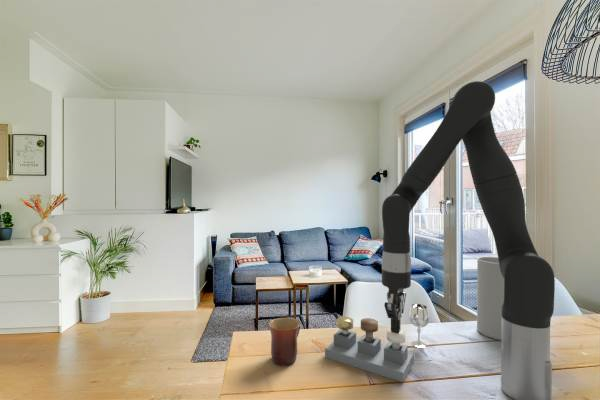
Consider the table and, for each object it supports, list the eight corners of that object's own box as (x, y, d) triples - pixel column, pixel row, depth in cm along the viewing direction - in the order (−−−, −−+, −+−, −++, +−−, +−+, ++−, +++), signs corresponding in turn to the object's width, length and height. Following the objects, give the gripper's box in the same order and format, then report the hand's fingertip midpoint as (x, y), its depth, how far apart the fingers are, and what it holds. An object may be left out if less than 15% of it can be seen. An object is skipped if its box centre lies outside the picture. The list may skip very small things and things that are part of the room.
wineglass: (430, 349, 92) (430, 310, 92) (410, 348, 94) (410, 308, 93) (426, 341, 98) (426, 303, 98) (407, 339, 99) (408, 302, 99)
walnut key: (380, 341, 88) (380, 320, 88) (374, 348, 84) (374, 326, 84) (364, 337, 90) (364, 317, 90) (358, 343, 86) (358, 322, 86)
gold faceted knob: (355, 338, 92) (355, 318, 92) (349, 345, 88) (349, 324, 88) (341, 334, 94) (341, 315, 94) (334, 340, 90) (334, 320, 90)
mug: (288, 372, 80) (288, 333, 80) (262, 362, 85) (262, 325, 85) (310, 352, 90) (310, 317, 90) (286, 345, 95) (286, 312, 95)
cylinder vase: (468, 329, 107) (469, 258, 107) (492, 324, 112) (493, 255, 112) (504, 345, 96) (505, 265, 95) (529, 338, 100) (530, 262, 100)
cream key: (407, 352, 84) (407, 330, 84) (402, 360, 79) (402, 337, 79) (389, 348, 86) (389, 326, 86) (384, 355, 82) (384, 333, 82)
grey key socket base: (414, 360, 86) (414, 341, 86) (403, 382, 76) (403, 360, 76) (342, 341, 98) (342, 324, 98) (324, 357, 88) (325, 338, 88)
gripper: (404, 275, 75) (403, 345, 75) (416, 265, 86) (415, 326, 86) (374, 271, 79) (373, 337, 79) (389, 262, 90) (388, 320, 90)
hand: (395, 331), depth 83 cm, fingers closed
